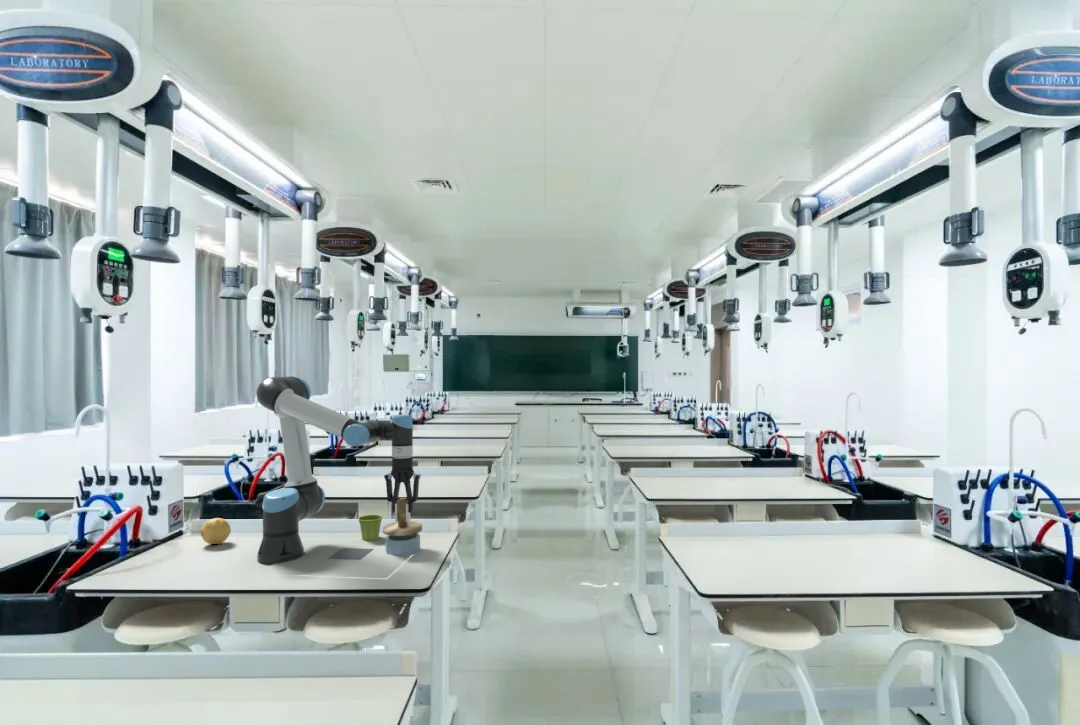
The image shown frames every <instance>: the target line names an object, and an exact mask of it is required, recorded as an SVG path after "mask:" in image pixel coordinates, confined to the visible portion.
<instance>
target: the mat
mask: <svg viewBox="0 0 1080 725" xmlns="http://www.w3.org/2000/svg"><path fill="white" fill-rule="evenodd" d="M373 550H375V549H374V548H361V547H360V548H357V547H356V548H355V547H354V548H352V547H343V548H341V549H339V550H338V551H337V552H335V553H334V554H332V555H331V556H329V557H327V559H329V560H355V561H356V560H357V561H358V560H359V561H361V560H362V559H363V558H364V557H366V556H367V555H369V553H371V552H373Z"/></svg>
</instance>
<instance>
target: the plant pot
mask: <svg viewBox="0 0 1080 725" xmlns="http://www.w3.org/2000/svg"><path fill="white" fill-rule="evenodd" d="M382 519H383V515H381V514H367V515H362V516H359V517H358V518H357V520H358V522H359V526H360V533H361V540H362V541H366V542H367V541H368V542H369V541H370V542H371V541H376V540H378V539H379V538H380V531H381V530H380V529H381V524H382Z"/></svg>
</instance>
